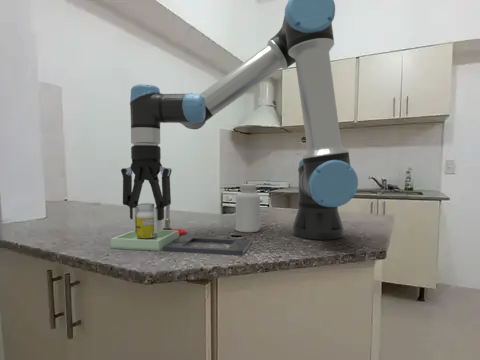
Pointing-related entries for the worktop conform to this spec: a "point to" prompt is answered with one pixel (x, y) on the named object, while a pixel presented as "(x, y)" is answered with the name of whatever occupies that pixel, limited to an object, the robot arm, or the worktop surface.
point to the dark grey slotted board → (235, 249)
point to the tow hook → (167, 222)
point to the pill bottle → (247, 209)
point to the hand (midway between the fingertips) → (147, 231)
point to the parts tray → (144, 241)
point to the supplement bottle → (146, 222)
